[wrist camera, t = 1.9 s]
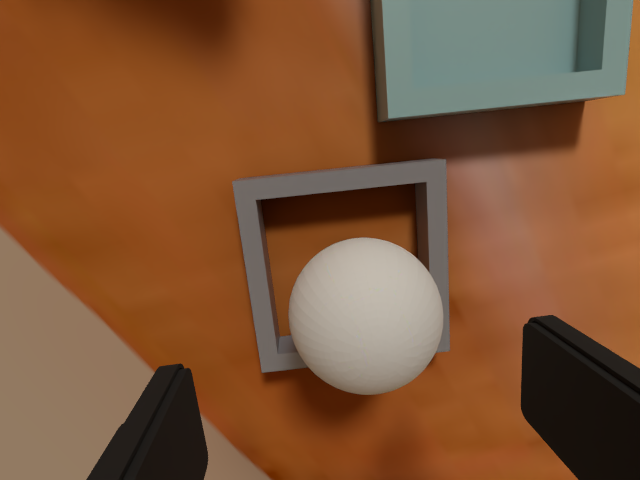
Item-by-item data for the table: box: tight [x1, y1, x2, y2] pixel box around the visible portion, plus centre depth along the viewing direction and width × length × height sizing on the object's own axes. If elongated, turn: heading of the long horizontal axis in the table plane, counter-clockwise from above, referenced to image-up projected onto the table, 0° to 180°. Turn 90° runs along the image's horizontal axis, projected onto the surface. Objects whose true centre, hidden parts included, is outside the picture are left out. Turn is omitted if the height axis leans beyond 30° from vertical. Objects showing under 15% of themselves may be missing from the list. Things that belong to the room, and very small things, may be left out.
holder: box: [232, 158, 450, 373], centre depth 20 cm, size 10×10×2 cm
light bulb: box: [289, 238, 443, 395], centre depth 17 cm, size 6×6×10 cm
